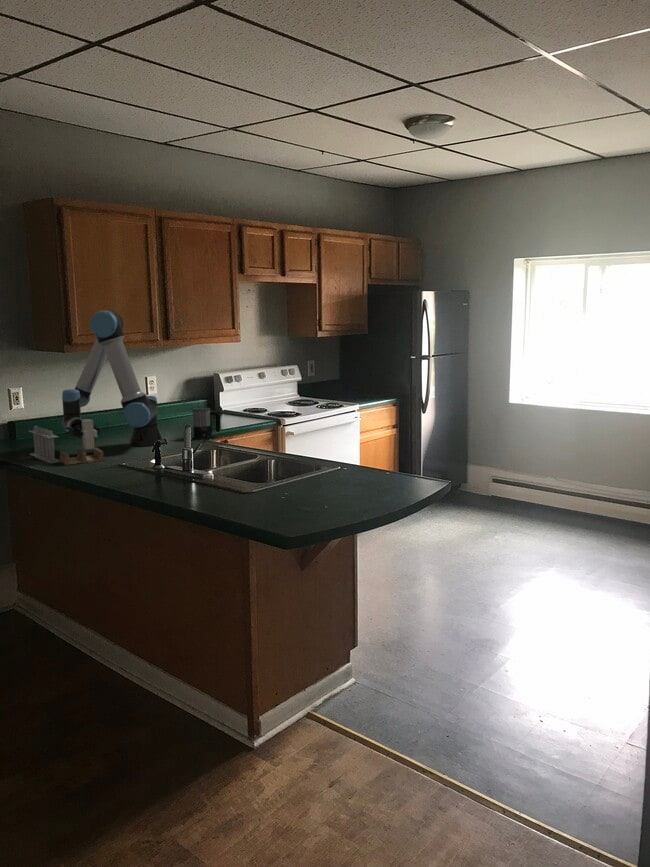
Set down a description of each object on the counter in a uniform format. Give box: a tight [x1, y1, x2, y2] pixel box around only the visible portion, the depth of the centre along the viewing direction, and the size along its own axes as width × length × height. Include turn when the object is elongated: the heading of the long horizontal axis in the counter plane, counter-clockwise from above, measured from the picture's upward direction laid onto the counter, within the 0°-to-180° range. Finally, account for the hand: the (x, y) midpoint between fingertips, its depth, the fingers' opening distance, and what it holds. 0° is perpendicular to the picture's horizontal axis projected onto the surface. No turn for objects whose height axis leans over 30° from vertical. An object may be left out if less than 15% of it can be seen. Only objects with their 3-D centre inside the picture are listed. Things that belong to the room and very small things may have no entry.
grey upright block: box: [81, 418, 95, 450], centre depth 304 cm, size 4×5×12 cm
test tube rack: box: [27, 425, 62, 464], centre depth 309 cm, size 25×4×13 cm, turn 40°
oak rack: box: [59, 447, 105, 466], centre depth 304 cm, size 16×10×4 cm, turn 122°
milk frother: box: [191, 407, 221, 440], centre depth 363 cm, size 14×16×15 cm
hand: (91, 434), depth 300 cm, fingers closed on grey upright block, 3 cm apart
